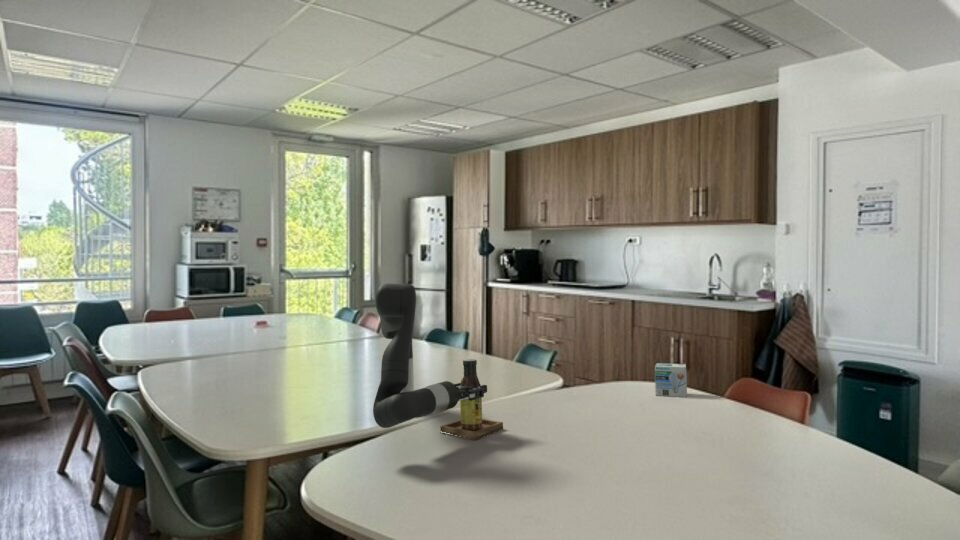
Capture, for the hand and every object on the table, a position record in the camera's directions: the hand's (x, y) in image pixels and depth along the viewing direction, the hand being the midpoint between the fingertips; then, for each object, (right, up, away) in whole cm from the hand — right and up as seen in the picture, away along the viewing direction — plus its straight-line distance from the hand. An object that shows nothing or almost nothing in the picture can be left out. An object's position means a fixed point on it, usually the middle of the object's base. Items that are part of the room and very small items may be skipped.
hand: (474, 387), depth 163 cm
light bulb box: (+71, -11, +37) cm, 81 cm away
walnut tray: (-1, -13, -2) cm, 13 cm away
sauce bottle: (-1, -12, -2) cm, 12 cm away
